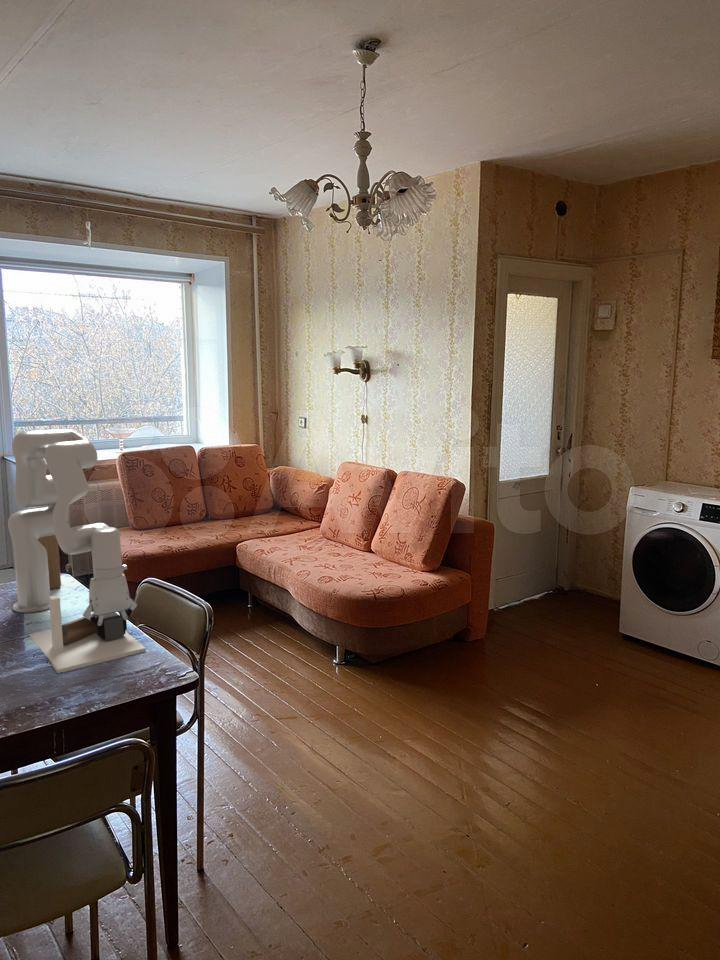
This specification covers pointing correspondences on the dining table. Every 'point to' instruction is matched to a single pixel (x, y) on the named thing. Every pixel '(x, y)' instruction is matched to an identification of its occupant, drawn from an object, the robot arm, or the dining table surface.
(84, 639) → the cream base with post
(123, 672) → the dining table surface
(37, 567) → the robot arm
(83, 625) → the wooden slat
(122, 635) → the block
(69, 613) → the dining table surface
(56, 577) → the wooden block
